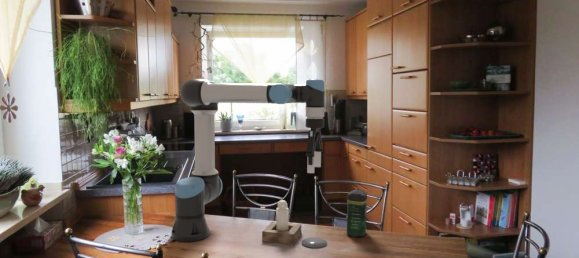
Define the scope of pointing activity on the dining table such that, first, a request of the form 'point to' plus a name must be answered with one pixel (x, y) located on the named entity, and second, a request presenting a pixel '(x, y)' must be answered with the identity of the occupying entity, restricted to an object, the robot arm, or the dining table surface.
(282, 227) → the pepper mill
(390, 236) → the dining table surface
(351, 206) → the coffee jar
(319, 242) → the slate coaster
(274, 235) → the walnut holder
